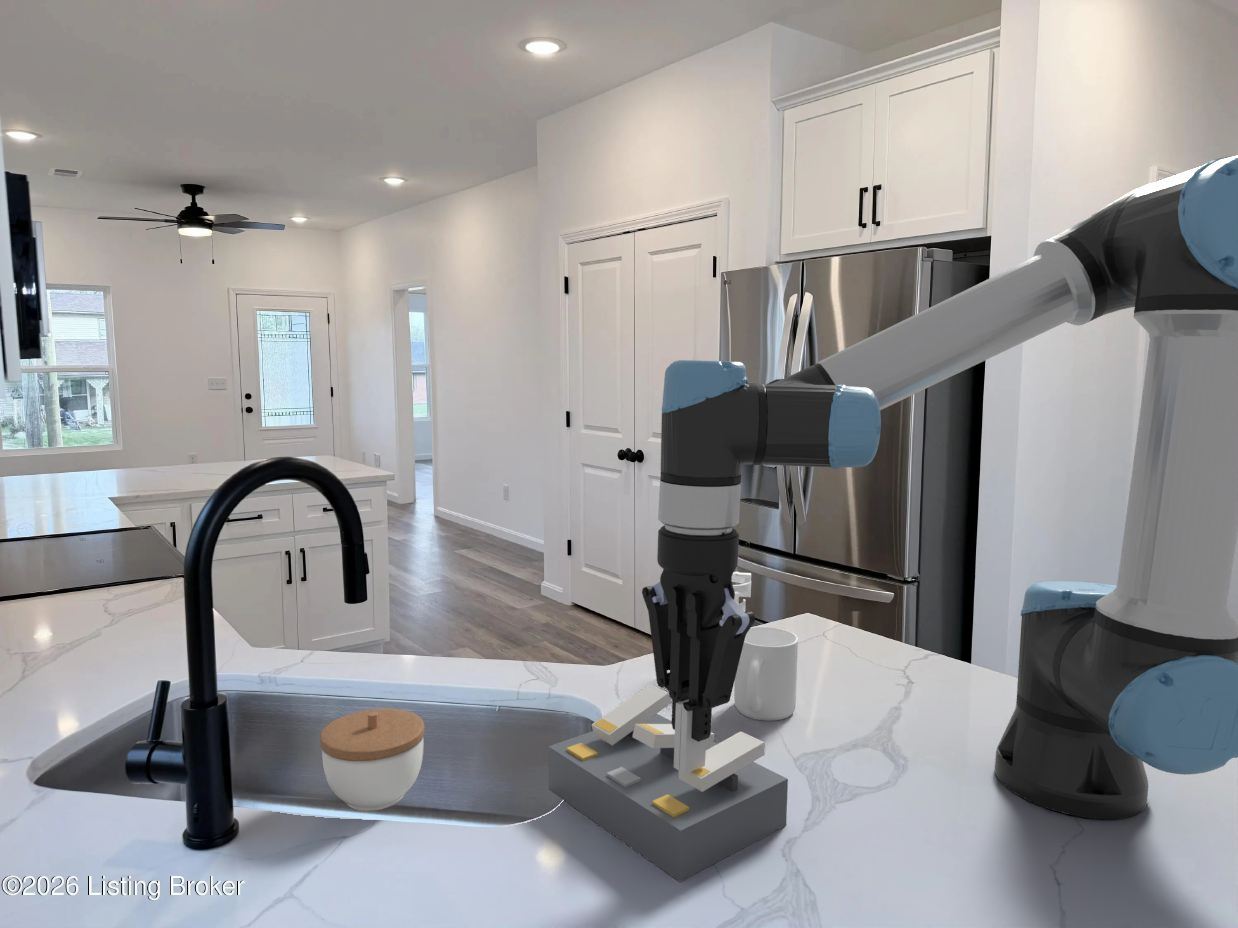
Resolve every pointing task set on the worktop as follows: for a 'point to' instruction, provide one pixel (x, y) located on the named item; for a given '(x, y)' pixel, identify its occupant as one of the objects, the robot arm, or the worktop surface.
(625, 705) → the switch
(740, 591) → the white plastic fitting
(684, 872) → the switch unit
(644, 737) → the switch
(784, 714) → the mug
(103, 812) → the worktop surface
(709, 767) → the switch
